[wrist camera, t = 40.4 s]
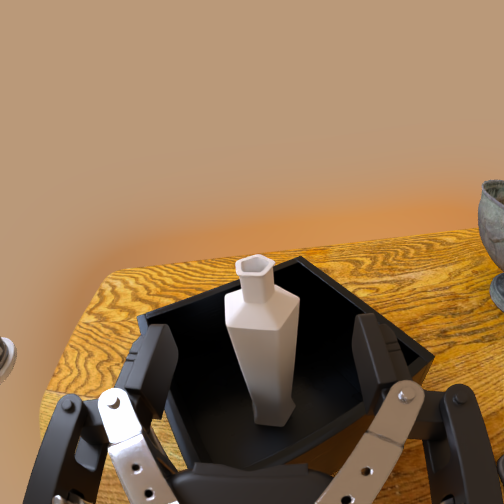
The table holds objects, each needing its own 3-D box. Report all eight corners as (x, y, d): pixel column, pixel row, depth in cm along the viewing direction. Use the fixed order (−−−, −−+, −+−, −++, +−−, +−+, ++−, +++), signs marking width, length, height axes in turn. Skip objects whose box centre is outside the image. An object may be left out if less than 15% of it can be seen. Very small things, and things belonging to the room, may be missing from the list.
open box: (235, 522, 15) (201, 499, 10) (170, 386, 27) (136, 316, 22) (398, 426, 20) (435, 356, 15) (302, 330, 33) (300, 255, 28)
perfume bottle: (304, 426, 21) (309, 282, 14) (252, 434, 21) (216, 296, 14) (294, 384, 25) (289, 239, 18) (247, 392, 25) (217, 249, 18)
